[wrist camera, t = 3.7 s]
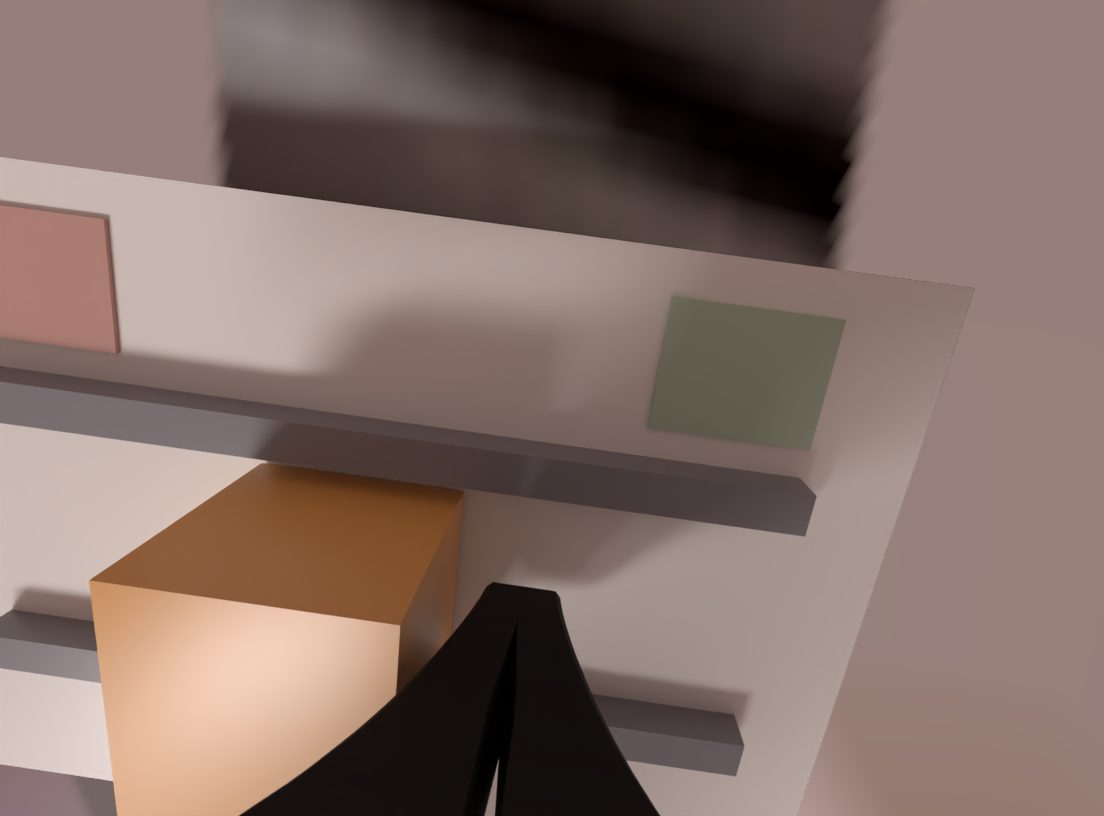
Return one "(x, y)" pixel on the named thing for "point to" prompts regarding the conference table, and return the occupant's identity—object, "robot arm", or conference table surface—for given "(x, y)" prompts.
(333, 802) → the robot arm
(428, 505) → the orange cube
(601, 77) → the conference table surface
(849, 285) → the plate
